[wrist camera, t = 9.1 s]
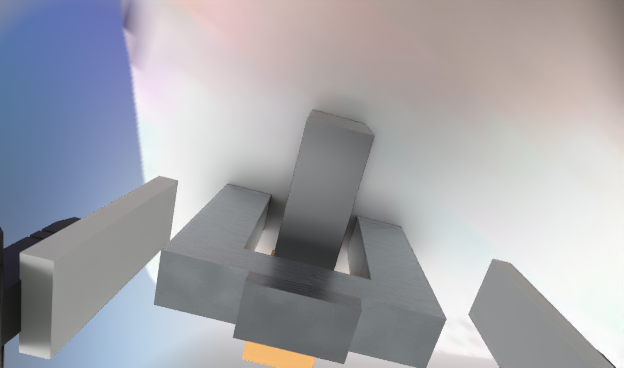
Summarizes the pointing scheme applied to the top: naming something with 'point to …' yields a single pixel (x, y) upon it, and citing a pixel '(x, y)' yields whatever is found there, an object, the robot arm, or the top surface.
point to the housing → (301, 287)
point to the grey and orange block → (318, 207)
